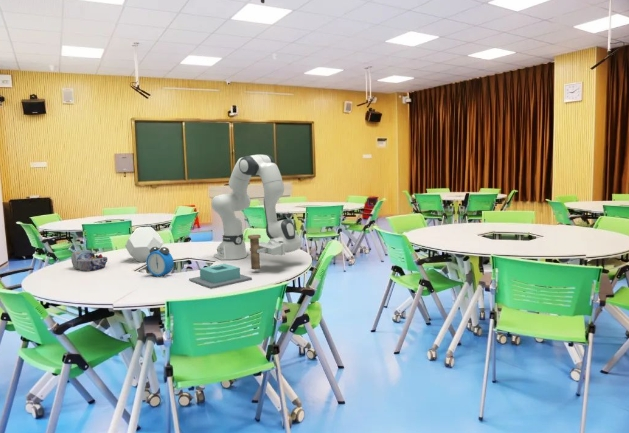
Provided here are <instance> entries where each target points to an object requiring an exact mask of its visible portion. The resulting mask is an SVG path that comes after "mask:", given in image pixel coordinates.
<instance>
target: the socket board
mask: <svg viewBox="0 0 629 433" xmlns="http://www.w3.org/2000/svg"><path fill="white" fill-rule="evenodd" d="M251 280H253V278H252V277H250V276H247V275H245V274H241V268H240V267H239V266H236V265H231V264H227V263H220V264H217V265H210V266H206V267H200V268H199V276H197V277H196V276H195V277H192V278H189V279H188V281H189V282H192V283H194V284H197V285H200V286H202V287H205V288H207V289H210V290H212V289H217V288H221V287H225V286H229V285H230V286H231V285H234V284H238V283H243V282H248V281H251Z"/></svg>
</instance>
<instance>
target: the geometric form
mask: <svg viewBox="0 0 629 433" xmlns="http://www.w3.org/2000/svg"><path fill="white" fill-rule="evenodd" d="M164 243H165V242H164V239H163V238H162V237H161V235H160V233H158V231H157V230H156V229H154V228H153V227H152V226H139V227H137V228H135V230H134V231H133V232H132V234H131V235H130V236H129V237H128V239H127V241H126V243H125V245H124V247H125V249H126V251H127V252H128V254H129V255H130V256H131V257H133V259H135V260H136V261H137V262H140V263H141V262H147V257H148V255H149V254H150V252H149V251H150V249H151V248H152V247H158V248H160V249H161V248H162V247H163V244H164ZM160 249H159V250H160Z"/></svg>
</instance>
